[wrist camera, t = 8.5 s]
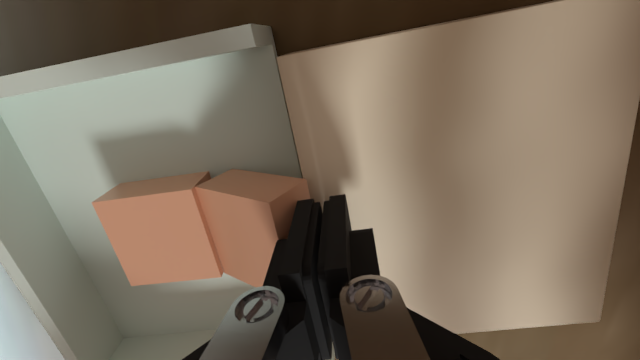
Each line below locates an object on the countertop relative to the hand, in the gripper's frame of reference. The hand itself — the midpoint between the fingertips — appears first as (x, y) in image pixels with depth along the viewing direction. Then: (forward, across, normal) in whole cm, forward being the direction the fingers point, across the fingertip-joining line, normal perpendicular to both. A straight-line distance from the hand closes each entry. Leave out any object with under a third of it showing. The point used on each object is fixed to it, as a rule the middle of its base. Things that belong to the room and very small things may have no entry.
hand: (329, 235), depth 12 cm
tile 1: (+2, +2, 0) cm, 3 cm away
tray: (+3, +7, 0) cm, 8 cm away
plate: (+3, -5, 0) cm, 6 cm away
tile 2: (+1, +7, 0) cm, 7 cm away
